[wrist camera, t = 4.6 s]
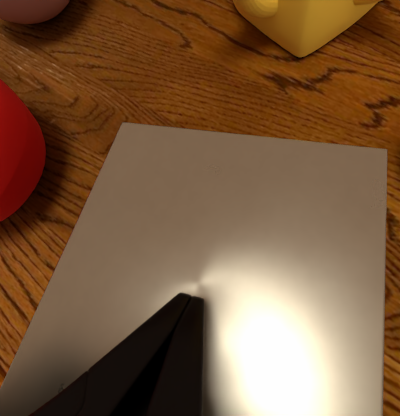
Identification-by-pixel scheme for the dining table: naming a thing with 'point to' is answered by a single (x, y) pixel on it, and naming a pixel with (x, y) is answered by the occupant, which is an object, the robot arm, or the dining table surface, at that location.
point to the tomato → (18, 152)
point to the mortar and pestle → (30, 10)
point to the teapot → (303, 20)
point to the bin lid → (225, 271)
